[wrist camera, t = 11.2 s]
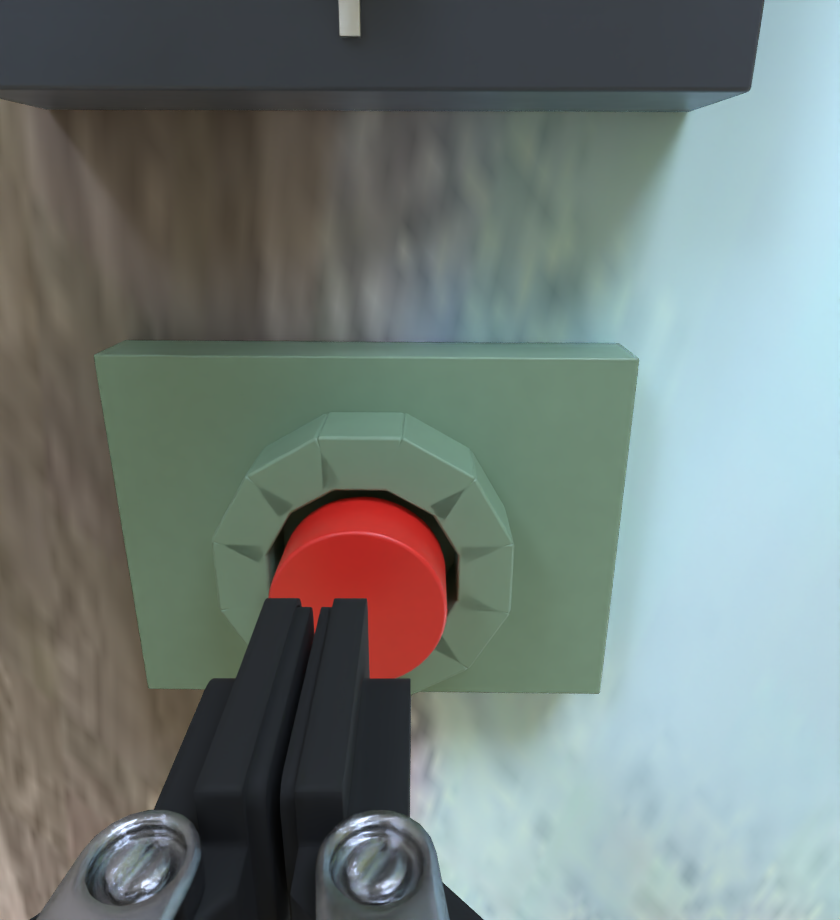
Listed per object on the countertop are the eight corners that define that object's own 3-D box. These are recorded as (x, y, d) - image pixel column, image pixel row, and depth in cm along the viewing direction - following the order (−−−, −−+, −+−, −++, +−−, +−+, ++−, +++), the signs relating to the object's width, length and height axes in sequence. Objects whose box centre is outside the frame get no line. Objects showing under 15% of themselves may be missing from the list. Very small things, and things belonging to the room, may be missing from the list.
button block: (169, 650, 20) (119, 738, 17) (124, 339, 17) (50, 373, 14) (586, 654, 20) (617, 744, 17) (619, 343, 17) (666, 377, 13)
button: (289, 636, 16) (273, 685, 14) (279, 494, 15) (260, 530, 13) (444, 637, 16) (445, 687, 14) (447, 495, 15) (449, 532, 13)
